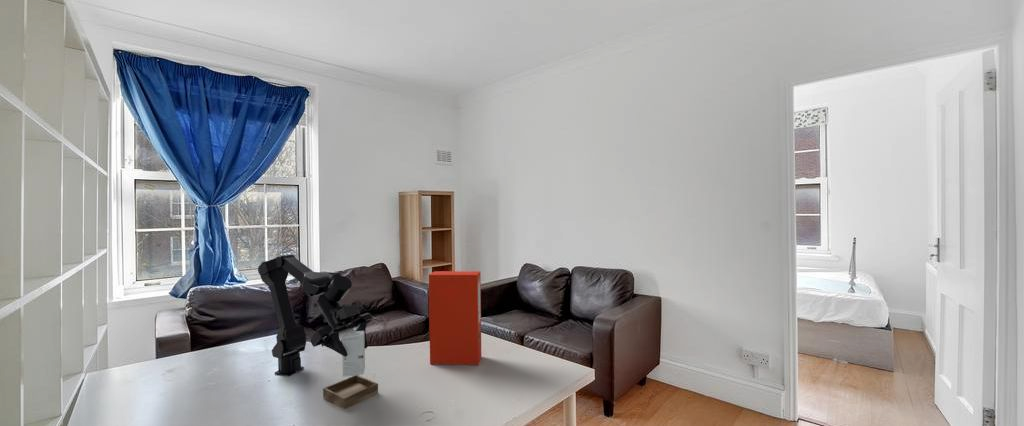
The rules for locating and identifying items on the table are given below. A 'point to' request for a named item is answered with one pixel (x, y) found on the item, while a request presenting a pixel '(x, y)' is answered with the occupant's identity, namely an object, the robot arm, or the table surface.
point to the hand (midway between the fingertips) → (356, 351)
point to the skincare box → (353, 353)
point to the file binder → (455, 317)
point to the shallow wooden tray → (350, 391)
